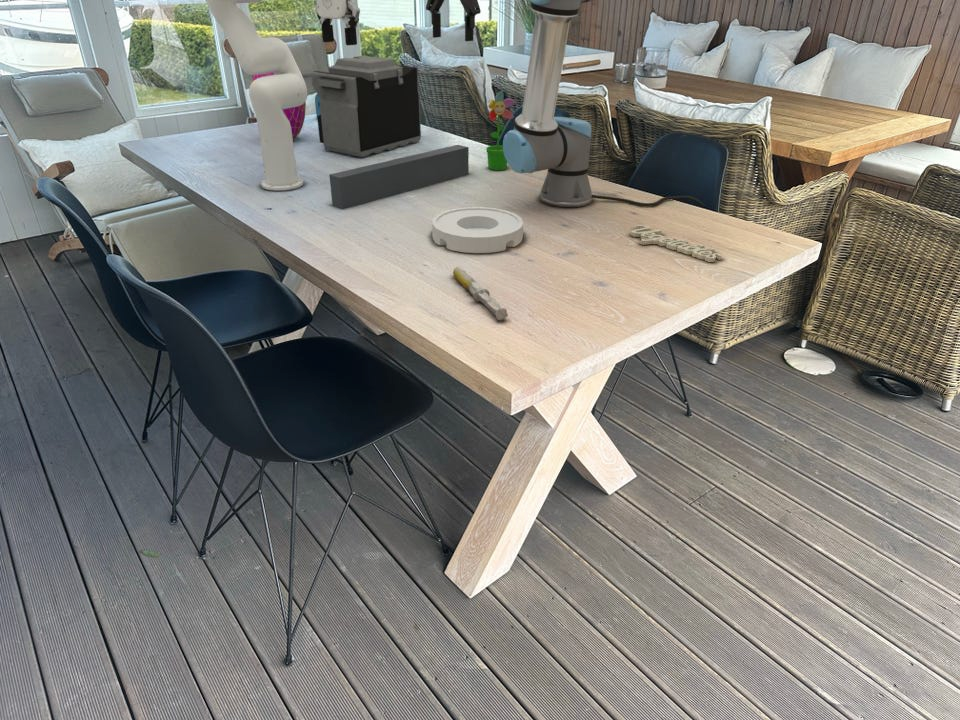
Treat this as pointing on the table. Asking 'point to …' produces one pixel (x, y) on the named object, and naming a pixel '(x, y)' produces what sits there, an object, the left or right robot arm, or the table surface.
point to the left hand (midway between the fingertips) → (339, 43)
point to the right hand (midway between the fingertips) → (452, 39)
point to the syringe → (479, 293)
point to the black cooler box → (367, 105)
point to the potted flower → (496, 152)
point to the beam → (397, 175)
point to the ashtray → (477, 229)
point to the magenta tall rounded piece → (291, 112)
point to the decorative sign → (674, 243)
